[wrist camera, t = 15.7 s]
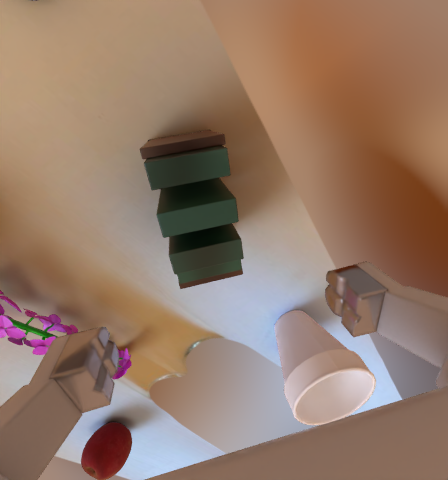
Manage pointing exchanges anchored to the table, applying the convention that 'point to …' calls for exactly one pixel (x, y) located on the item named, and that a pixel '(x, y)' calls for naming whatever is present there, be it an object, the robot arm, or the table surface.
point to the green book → (195, 207)
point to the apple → (107, 451)
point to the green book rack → (188, 171)
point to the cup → (319, 371)
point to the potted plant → (45, 334)
